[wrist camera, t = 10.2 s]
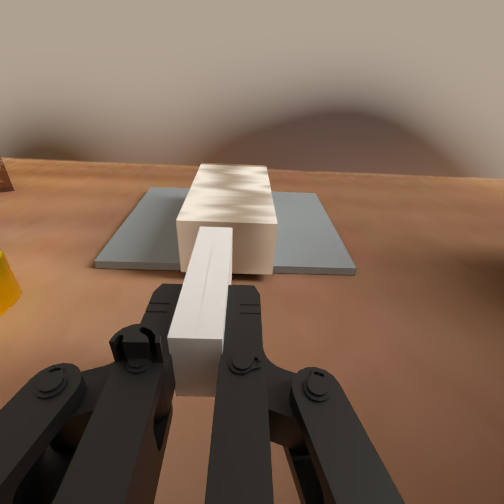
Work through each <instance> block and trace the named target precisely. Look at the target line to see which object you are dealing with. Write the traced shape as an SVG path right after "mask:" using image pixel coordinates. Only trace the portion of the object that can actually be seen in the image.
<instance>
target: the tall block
mask: <svg viewBox="0 0 504 504" xmlns="http://www.w3.org/2000/svg"><path fill="white" fill-rule="evenodd" d="M200 226H202V227H229V228H233V232H232V273H235V274H271V275H272V273H273V264H274V254H275V245H276V235H277V226H278V223H277V218H276V213H275V208H274V203H273V198H272V193H271V188H270V183H269V178H268V173H267V168H266V166H260V165H238V164H214V163H202V164H201V166H200V168H199V170H198V172H197V175H196V177H195V179H194V181H193V183H192V186H191V188H190V190H189V192H188V195H187V197H186V199H185V201H184V203H183V206H182V208H181V210H180V212H179V215H178V217H177V219H176V227H177V237H178V246H179V256H180V266H181V272H187V269H188V266H189V262H190V259H191V255H192V252H193V249H194V245H195V242H196V238H197V235H198V232H199V228H200Z"/></svg>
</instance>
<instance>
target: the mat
mask: <svg viewBox="0 0 504 504" xmlns="http://www.w3.org/2000/svg"><path fill="white" fill-rule="evenodd" d="M189 190H190V188H164V187H151V188H150V189H149V190H148V192H147V193H146V194H145V195H144V197H143V198H142V199H141V201H140V202H139V203H138V205H137V206H136V207H135V208H134V210H133V211H132V212H131V214H130V215H129V216H128V217H127V219H126V220H125V221H124V223H123V224H122V225H121V227H120V228H119V229H118V230H117V232H116V233H115V234H114V236H113V237H112V238H111V239H110V241H109V242H108V243H107V245H106V246H105V247H104V249H103V250H102V251H101V252H100V254H99V255H98V256H97V258H96V259H95V260H94V263H95V266H96V268H108V269H145V270H181V266H180V256H179V246H178V237H177V227H176V219H177V217H178V215H179V212H180V210H181V208H182V206H183V203H184V201H185V199H186V197H187V195H188V192H189ZM271 193H272V198H273V203H274V208H275V213H276V218H277V223H278V226H277V235H276V245H275V254H274V264H273V273H294V274H331V275H355V272H356V266H355V265H354V263H353V261H352V259H351V257H350V255H349V254H348V252H347V250H346V248H345V246H344V244H343V243H342V241H341V239H340V237H339V235H338V234H337V232H336V230H335V228H334V226H333V224H332V223H331V221H330V219H329V217H328V215H327V213H326V212H325V210H324V208H323V206H322V204H321V203H320V201H319V199H318V197H317V195H316V193H293V192H271Z"/></svg>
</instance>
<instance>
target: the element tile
mask: <svg viewBox="0 0 504 504" xmlns="http://www.w3.org/2000/svg"><path fill="white" fill-rule="evenodd" d="M21 293H22V291H21V288H20V286H19V284H18V282H17V279H16V277H15V275H14V273H13V271H12V269H11V267H10V265H9V263H8V261H7V259H6V257H5V255H4V252H3V251H2V250H0V316H2V315H3V314H4V313H5V312H6V311H7V310H8V309H9V308H10V307H11V306H13V305H14V304H15V303H16V302H17V300H18V299H19V298H20V295H21Z"/></svg>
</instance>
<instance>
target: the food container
mask: <svg viewBox="0 0 504 504" xmlns="http://www.w3.org/2000/svg"><path fill="white" fill-rule="evenodd" d="M7 191H14V189H13V186H12V184H11V181H10V179H9V176H8V174H7V171H6V169H5V166H4V164H3V161H2V159H1V156H0V192H7Z"/></svg>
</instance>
